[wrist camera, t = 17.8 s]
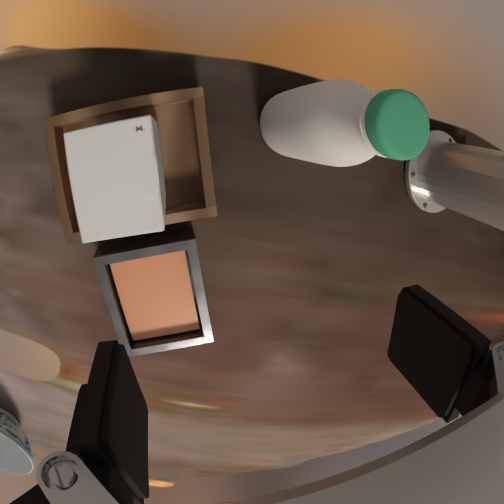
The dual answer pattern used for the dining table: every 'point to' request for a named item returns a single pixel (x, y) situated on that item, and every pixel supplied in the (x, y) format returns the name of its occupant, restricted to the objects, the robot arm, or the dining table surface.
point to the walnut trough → (172, 149)
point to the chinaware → (14, 446)
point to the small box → (117, 178)
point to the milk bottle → (344, 123)
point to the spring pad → (156, 295)
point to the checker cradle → (146, 249)
